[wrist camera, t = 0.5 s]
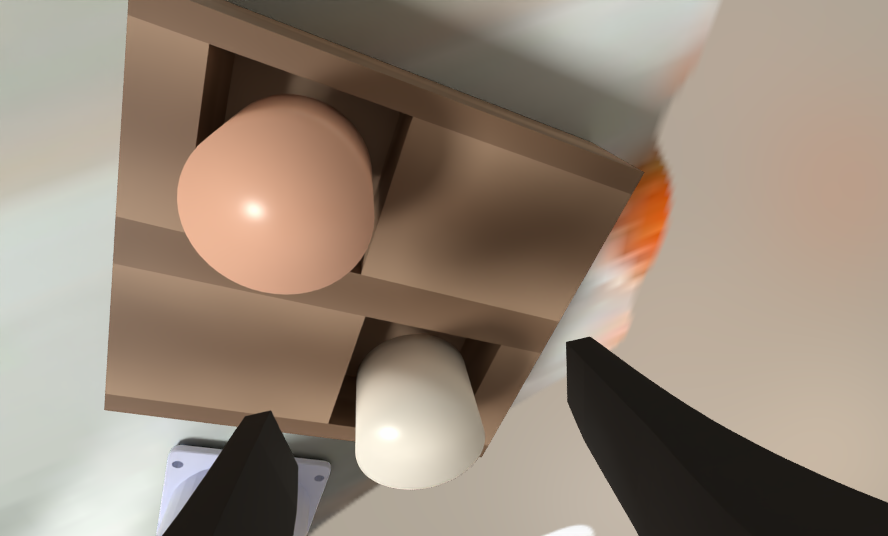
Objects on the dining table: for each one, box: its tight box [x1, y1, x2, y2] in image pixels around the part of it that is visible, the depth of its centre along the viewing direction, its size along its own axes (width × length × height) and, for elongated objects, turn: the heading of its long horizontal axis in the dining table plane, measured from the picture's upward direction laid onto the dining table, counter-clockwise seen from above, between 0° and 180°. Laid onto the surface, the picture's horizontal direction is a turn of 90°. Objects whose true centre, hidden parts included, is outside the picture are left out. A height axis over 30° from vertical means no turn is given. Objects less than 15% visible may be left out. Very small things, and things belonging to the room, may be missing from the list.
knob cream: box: [355, 334, 485, 490], centre depth 17 cm, size 4×4×3 cm
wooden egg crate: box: [104, 0, 644, 457], centre depth 17 cm, size 14×15×4 cm
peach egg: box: [177, 94, 375, 295], centre depth 12 cm, size 4×4×3 cm
